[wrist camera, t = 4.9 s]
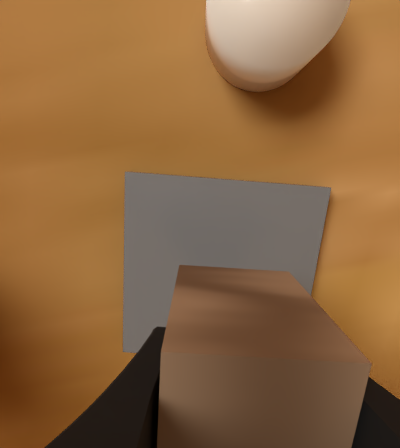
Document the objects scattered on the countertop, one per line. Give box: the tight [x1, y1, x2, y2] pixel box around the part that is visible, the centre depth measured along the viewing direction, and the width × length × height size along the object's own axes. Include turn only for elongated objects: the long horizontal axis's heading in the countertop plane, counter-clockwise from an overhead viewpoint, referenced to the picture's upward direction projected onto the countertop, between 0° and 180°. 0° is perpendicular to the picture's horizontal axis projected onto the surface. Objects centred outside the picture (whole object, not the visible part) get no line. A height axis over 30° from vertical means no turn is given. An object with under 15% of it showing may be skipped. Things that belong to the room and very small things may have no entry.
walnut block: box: [157, 265, 372, 448], centre depth 8 cm, size 4×4×5 cm
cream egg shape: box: [205, 0, 350, 92], centre depth 12 cm, size 6×6×4 cm
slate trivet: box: [123, 172, 331, 353], centre depth 16 cm, size 12×12×1 cm
